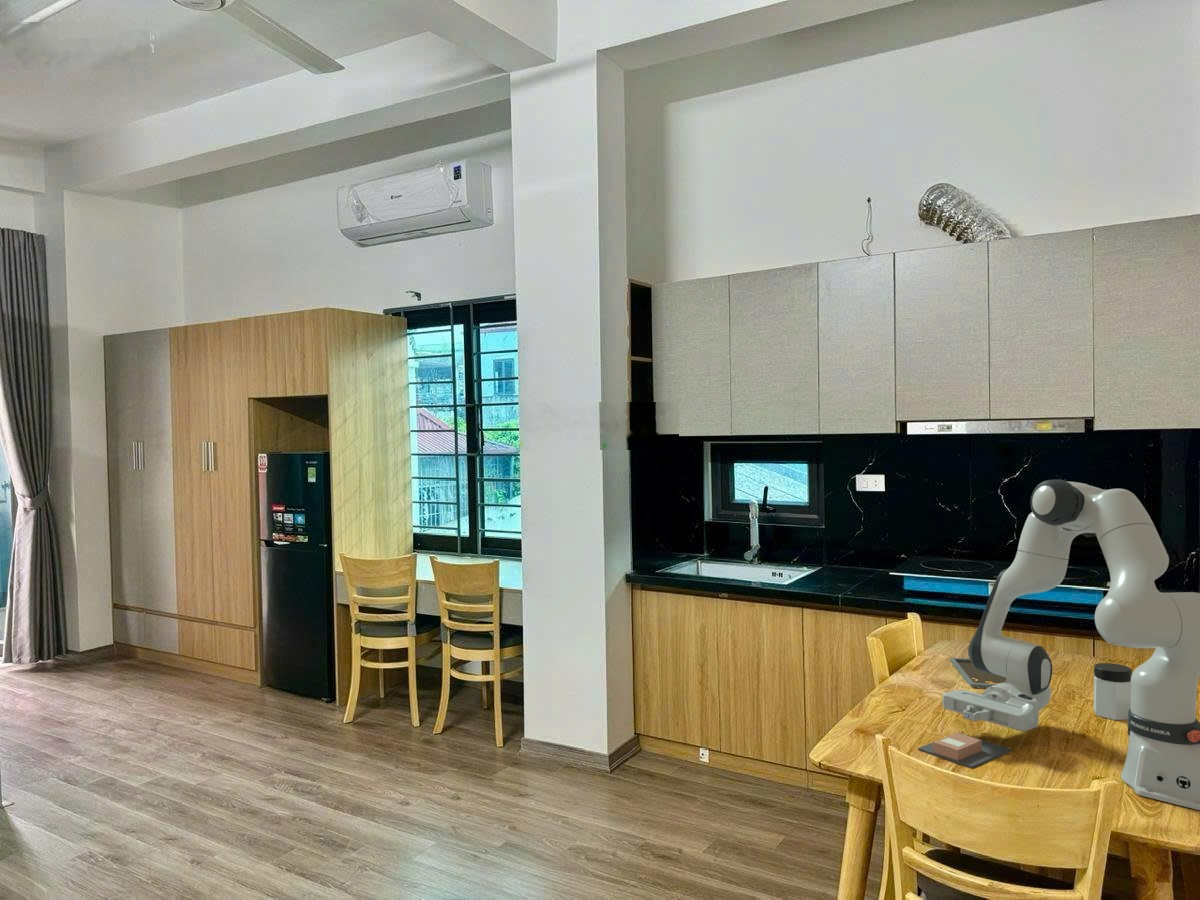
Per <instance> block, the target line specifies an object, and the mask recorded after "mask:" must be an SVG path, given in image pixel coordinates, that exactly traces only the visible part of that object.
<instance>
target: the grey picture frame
mask: <svg viewBox="0 0 1200 900" xmlns="http://www.w3.org/2000/svg"><path fill="white" fill-rule="evenodd" d="M949 662H950V663H951V664H952V665H953V667H954V668H955V669H956V670H957V672H958V673H959V674H960V675H962V676H961V677H962V679H964V681H965V680H966V681H965V683H967V685H968V684H969V685H970V686H971V687H979V688H978V689H981V688H988V687H991V686H994V685H997V684H989V683H986V682H985V681H992V682H994V683H1003V682H1005V681H1006V677H1003V676H999V675H996V674H991V673H987V672H982V671H979V670H977V669H976V668H975V666H974V665H973V663H972V662H971V660H970V658H969V657H949ZM972 678H975V679H978V681H975V679H972ZM974 682H975V683H974ZM969 685H968V686H969ZM970 686H969V687H970ZM971 687H970V688H971Z"/></svg>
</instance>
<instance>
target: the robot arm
mask: <svg viewBox="0 0 1200 900" xmlns="http://www.w3.org/2000/svg"><path fill="white" fill-rule="evenodd" d="M1030 509H1031V512H1030V513H1029V514H1028V515H1027V518H1026V520H1025V522H1024V525H1023V528H1022V531H1021V533H1020V538H1019V542H1018V546H1017V551H1016V553H1015V557H1014V559H1013V561H1012V563H1011V564H1010V566H1009V567H1008V568H1005V569H1003V570H1002V571H1000V572H999V574H998V576H997V577H996V579H995V581H994V583H993V586H992V589H991V592H990V594H989V597H988V599H987V602H986V604H985V607H984V611H983V612H982V616H981V619H980V621H979V625H978V627H977V628H976V631H975V632H974V634H973V636H972V638H971V640H970V642H969V644H968V647H967V648H968V649H967V655H968V658H970V660H971V662H972V663H973V665H974V666H975V668H976V669H977V670H979V671H982V672H987V673H991V674H996V675H999V676H1003V677H1006V681H1005V682H1003V683H1000V684H997V685H994V686H991V687H988V688H987V689H984V690H983V691H982V693H978V692H973V691H971V690H967V689H957V690H956V689H955V690H951V691H946V692H944V693H943V694H942V706H943V709H945V710H948V711H951V712H954V713H958V714H962V718H963V719H964V720H968V721H972V722H978V721H980V722H981V721H983V722H988V723H993V724H995V725H998V726H1001V727H1006V728H1009V729H1012V730H1015V731H1020V732H1028V731H1030V730H1033V729H1035V728H1038V725H1039V715H1040V713H1039V712H1040V711H1041V710H1043V709H1044V708H1045V707H1046V706H1047V705H1048V704H1049V702H1050V701H1051V697H1052V688H1051V685H1050V684H1051V680H1052V677H1053V664H1052V663H1053V662H1052V661H1051V657H1050V655H1049V654H1048V652H1047V650H1046V649H1045V648H1044V647H1043V646H1042V645H1038V644H1035V643H1031V642H1028V641H1024V640H1021V639H1017V638H1013V637H1009V636H1006V635H1003V633H1002V629H1003V626H1004V623H1005V621H1006V618H1007V615H1008V612H1009V610H1010V608H1011V605H1012V603H1013V602H1014V601H1015V600H1016V599H1017V598H1019V597H1022V596H1025V595H1030V594H1031V595H1032V594H1039V593H1044V592H1048V591H1051V590H1052V589H1055V588H1056V587H1058V586H1059V585H1060V584H1061V583H1062V582H1064V581H1063V580H1064V579H1065V576H1066V574H1067V569H1068V564H1069V560H1070V557H1069V556H1070V553H1071V552H1070V551H1071V545H1072V543H1073V540H1074V539H1075V538H1076V537H1078V536H1079V535H1083V536H1084V537H1085V538H1092V537H1096V538H1097V540H1098V541H1097V542H1098V543H1099V546H1100V548H1101V551H1102V555H1103V557H1104V560H1105V563H1106V565H1107V569H1108V571H1109V577H1110V578H1109V579H1110V585H1109V589H1108V592H1107V593H1106V595H1105V596H1104V597H1103V598H1102V600H1100V601H1099V602H1098V605H1097V606H1096V608H1095V612H1094V624H1095V627H1096V630H1097V632H1098V633H1099V635H1100V636H1101V637H1102V639H1103V640H1104V641H1106V643H1108V644H1109V645H1114V646H1119V647H1124V648H1129V649H1130V648H1131V649H1155V650H1154V652H1153V653H1152V655H1151V656H1150V658H1149V659H1147V660H1146V661H1144V663H1143V662H1142V663H1141V664H1140V665H1138V666H1137V667H1136V668H1134V670H1132V676H1131V709H1129V711H1128V720H1126V721H1127V724H1126V725H1127V735H1128V736H1129V737H1128V746H1127V753H1126V756H1125V757H1126V758H1125V762H1124V765H1123V769H1122V770H1121V773H1120V777H1121V780H1122V781H1123V782H1124V783H1126V784H1127V785H1129V786H1130V787H1131V788H1132V789H1133V791H1134V792H1135V793H1136V795H1139V796H1142V797H1144V798H1145V797H1146V798H1148V799H1149V798H1150V799H1154V800H1157V801H1162V802H1165V803H1169V804H1173V805H1177V806H1181V807H1185V808H1190V809H1193V810H1197V811H1200V721H1199V720H1198V719H1197V718H1196V714H1197V713H1196V711H1197V695H1198V694H1197V693H1198V684H1199V679H1200V592H1194V591H1189V592H1187V591H1185V592H1183V591H1182V592H1176V591H1174V592H1161V591H1159V589H1158V588H1157V586H1156V583H1155V580H1157V579H1159V578H1160V577H1162V576H1163V575H1164V574H1165V572H1166V571H1167V569H1168V567H1169V564H1170V558H1169V554H1168V553H1167V550H1166V547H1165V546H1164V543H1163V541H1162V539H1161V537H1160V535H1159V533H1158V531H1157V528H1156V526H1155V524H1154V522H1153V520H1152V519H1151V516H1150V515H1149V513H1148V511H1147V510H1146V508H1145V507H1144V505H1143V504H1142V502H1141V500H1139V498H1138V497H1137V496H1136V495H1135V493H1133V492H1132V491H1130V490H1128V489H1125V488H1111V489H1105V488H1104V489H1102V488H1100V487H1096V486H1093V485H1089V484H1088V483H1082V482H1078V481H1077V482H1076V481H1066V480H1064V479H1048V480H1044V481H1042V482H1040V483H1039V484H1037V485H1036V487H1034V489H1033V491H1032V494H1031V496H1030Z"/></svg>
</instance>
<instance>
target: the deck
mask: <svg viewBox="0 0 1200 900" xmlns="http://www.w3.org/2000/svg"><path fill="white" fill-rule="evenodd" d="M960 733H961V732H956V733H953V734H949V735H947V736H945V737H943V738H939V739H938V740H934V741H932V743H933V753H936V754H939V755H942V756H945V757H947V758H950V759H953V760H956V761H959V760H961V759H964V758H966V757H968V756H971V755H973V754H976V753H978V752H980V751H982V740H983V739H982V740H979V739H980V738H978V739H976V738H977V737H975V738H973V737H974V736H972V737H970V736H971V735H969V736H967V735H968V734H966V735H963V734H964V733H962V734H960Z"/></svg>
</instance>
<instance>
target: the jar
mask: <svg viewBox="0 0 1200 900" xmlns="http://www.w3.org/2000/svg"><path fill="white" fill-rule="evenodd" d="M1132 673H1133V670H1132V668H1131V667H1129V666H1127V665H1122V664H1118V663H1111V662H1099V663H1096V664H1094V667H1093V711H1094V714H1095V716H1097V717H1101V718H1105V719H1109V720H1112V721H1125V720H1126V721H1128V711H1129V709H1131V676H1132Z"/></svg>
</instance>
